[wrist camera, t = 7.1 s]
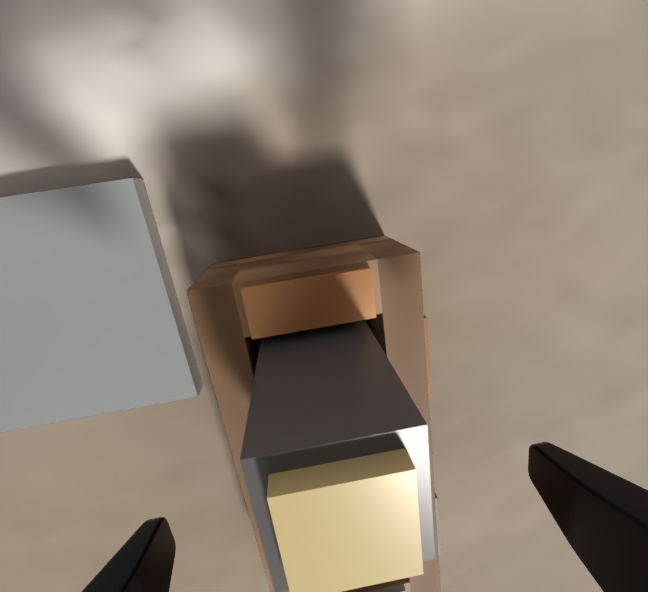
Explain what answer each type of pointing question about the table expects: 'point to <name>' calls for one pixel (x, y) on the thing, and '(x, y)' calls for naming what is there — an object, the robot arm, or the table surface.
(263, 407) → the plug
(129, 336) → the deck
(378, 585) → the socket strip
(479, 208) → the table surface
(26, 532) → the table surface
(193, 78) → the table surface
